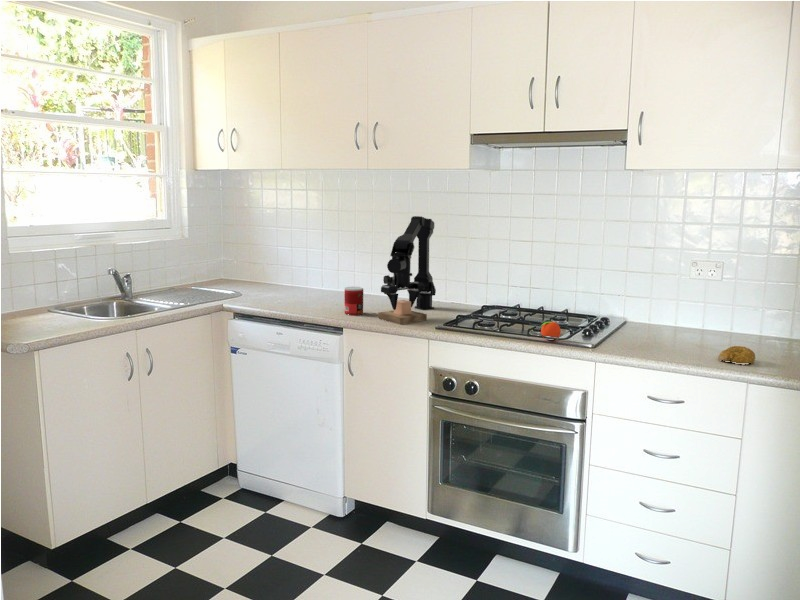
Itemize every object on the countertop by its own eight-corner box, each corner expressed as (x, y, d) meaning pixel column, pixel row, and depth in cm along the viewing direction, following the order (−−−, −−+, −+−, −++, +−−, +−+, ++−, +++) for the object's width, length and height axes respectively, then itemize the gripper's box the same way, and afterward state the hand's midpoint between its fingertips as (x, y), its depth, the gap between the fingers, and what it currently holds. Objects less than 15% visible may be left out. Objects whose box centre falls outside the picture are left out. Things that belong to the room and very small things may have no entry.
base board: (404, 314, 282) (404, 308, 282) (426, 320, 272) (426, 314, 271) (378, 318, 273) (378, 312, 273) (400, 324, 263) (400, 318, 262)
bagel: (712, 357, 221) (713, 343, 221) (746, 358, 221) (748, 344, 220) (724, 365, 212) (726, 351, 211) (760, 367, 211) (762, 352, 210)
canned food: (360, 316, 278) (360, 289, 276) (342, 314, 280) (342, 288, 278) (365, 312, 286) (365, 287, 284) (347, 311, 287) (347, 286, 285)
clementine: (543, 343, 236) (544, 323, 235) (534, 338, 243) (535, 319, 241) (563, 342, 238) (565, 322, 237) (554, 337, 245) (555, 318, 244)
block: (402, 311, 276) (403, 299, 275) (410, 313, 272) (411, 301, 271) (393, 313, 273) (393, 300, 272) (401, 315, 269) (401, 302, 268)
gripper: (407, 266, 281) (406, 303, 284) (372, 269, 269) (372, 308, 272) (425, 269, 273) (424, 307, 276) (390, 273, 261) (389, 312, 264)
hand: (402, 308), depth 272 cm, fingers open, 8 cm apart
